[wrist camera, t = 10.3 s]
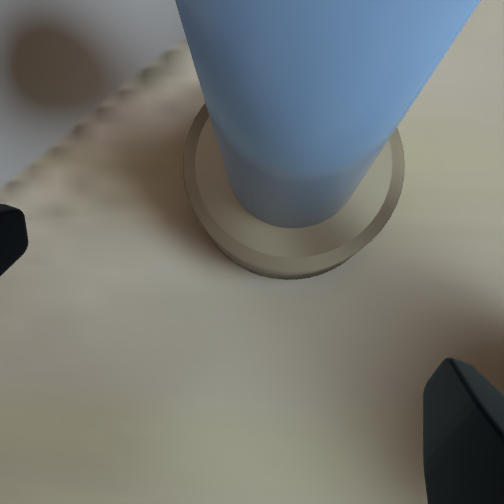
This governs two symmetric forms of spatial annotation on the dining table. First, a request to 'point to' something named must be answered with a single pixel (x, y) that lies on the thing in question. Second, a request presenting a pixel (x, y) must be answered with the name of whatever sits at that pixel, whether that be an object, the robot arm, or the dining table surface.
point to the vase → (311, 91)
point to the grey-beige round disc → (278, 238)
